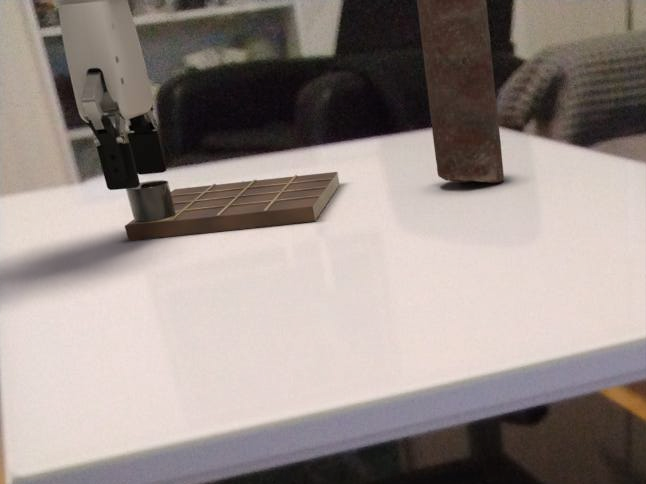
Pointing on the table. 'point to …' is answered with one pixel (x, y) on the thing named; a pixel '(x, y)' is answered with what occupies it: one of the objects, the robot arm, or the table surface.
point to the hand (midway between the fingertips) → (138, 180)
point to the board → (241, 206)
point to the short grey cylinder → (151, 201)
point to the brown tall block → (461, 90)
